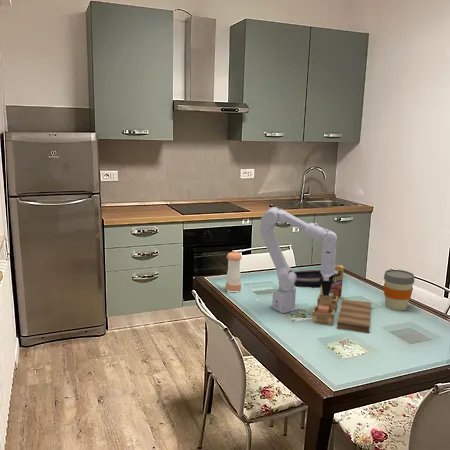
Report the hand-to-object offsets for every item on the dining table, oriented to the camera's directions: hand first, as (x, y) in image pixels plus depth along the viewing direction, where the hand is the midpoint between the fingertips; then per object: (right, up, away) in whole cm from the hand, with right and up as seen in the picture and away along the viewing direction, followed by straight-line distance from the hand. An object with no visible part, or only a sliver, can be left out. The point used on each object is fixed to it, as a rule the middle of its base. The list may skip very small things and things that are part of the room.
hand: (326, 292), depth 193 cm
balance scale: (0, -9, +2) cm, 10 cm away
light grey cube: (+2, -5, +8) cm, 10 cm away
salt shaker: (-38, -3, +28) cm, 48 cm away
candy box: (+6, -6, +20) cm, 22 cm away
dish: (+3, -1, +41) cm, 41 cm away
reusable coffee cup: (+33, -8, +11) cm, 36 cm away
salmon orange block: (-3, -8, -6) cm, 10 cm away
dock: (+11, -10, -2) cm, 15 cm away
